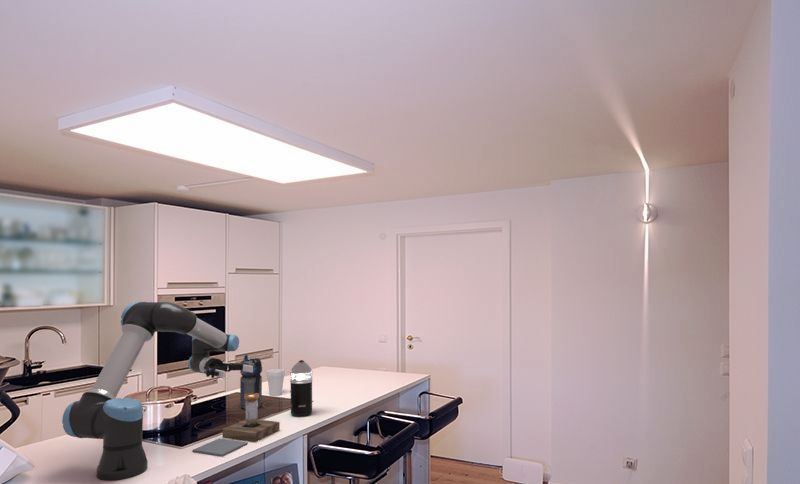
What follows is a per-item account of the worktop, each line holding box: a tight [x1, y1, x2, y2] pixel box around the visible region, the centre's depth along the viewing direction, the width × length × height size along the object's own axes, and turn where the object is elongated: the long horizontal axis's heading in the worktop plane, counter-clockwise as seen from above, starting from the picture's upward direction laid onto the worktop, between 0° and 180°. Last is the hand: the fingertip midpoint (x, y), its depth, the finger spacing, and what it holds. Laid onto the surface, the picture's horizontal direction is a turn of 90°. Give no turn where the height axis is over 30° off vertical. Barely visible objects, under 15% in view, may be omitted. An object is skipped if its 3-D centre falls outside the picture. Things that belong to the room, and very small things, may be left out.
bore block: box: [222, 418, 281, 443], centre depth 211 cm, size 16×16×4 cm
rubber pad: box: [192, 437, 249, 458], centre depth 195 cm, size 14×14×1 cm
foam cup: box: [266, 368, 285, 397], centre depth 279 cm, size 10×9×13 cm
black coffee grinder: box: [289, 359, 313, 418], centre depth 240 cm, size 10×10×25 cm
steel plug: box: [244, 393, 259, 428], centre depth 212 cm, size 6×6×16 cm
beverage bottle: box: [239, 354, 263, 410], centre depth 254 cm, size 10×13×25 cm
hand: (238, 371), depth 219 cm, fingers open, 13 cm apart
